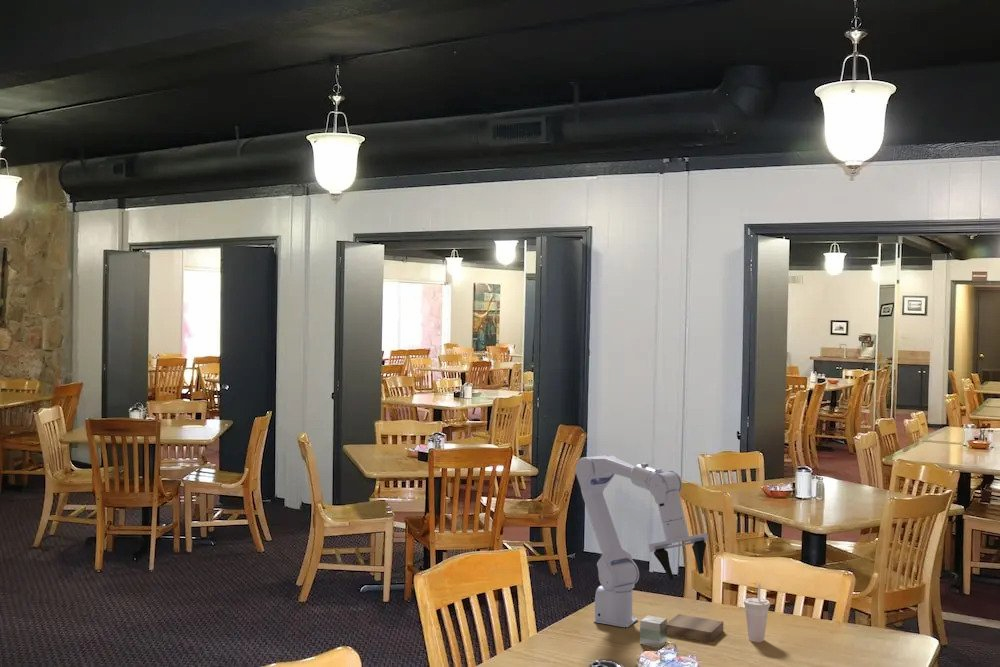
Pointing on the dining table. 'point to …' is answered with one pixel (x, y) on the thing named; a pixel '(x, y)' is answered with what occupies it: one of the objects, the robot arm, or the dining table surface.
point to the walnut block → (694, 628)
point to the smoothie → (756, 617)
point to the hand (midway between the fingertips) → (686, 576)
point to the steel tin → (653, 631)
